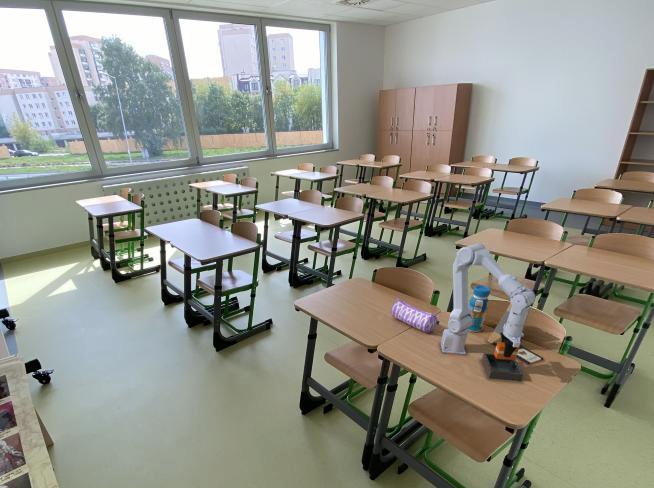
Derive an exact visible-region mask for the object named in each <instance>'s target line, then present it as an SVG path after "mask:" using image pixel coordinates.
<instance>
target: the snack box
mask: <svg viewBox="0 0 654 488" xmlns="http://www.w3.org/2000/svg"><path fill="white" fill-rule="evenodd" d="M504 349H505V344H504V343H503V342H498V343H497V346H496V345H495V350H494V353H493V354H494V355H495V357H496V359H507V360H516V359H517V358H516V356H517V353H518V350H519V347H518V348H517V349H515V351H514V352H513V353H512V355H511V356H510V357H504Z"/></svg>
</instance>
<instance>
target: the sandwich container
mask: <svg viewBox="0 0 654 488" xmlns="http://www.w3.org/2000/svg"><path fill="white" fill-rule="evenodd" d="M511 307H512V305H511V302H510V303H509V305H508V306H507V309H506V310H505V312H504V313H503V315H502V317H501V318H500V320H499V322H498V323H497V325H496V326H495V328H494V330H493V331H492V333H491V334H490V336H489V338H488V339H487V341H486V343H490V344H492V345H493V343H494V342H495V343H498V342H501V335H500V333H501V332H503V331H504V329H503V327H504V324H506V323H507V320H508V317H509V313H510V310H511ZM530 310H531V307H530V308H529V311H528V314H527V317H526V320H525V323H524V326H523V329H522V333H524V332H523V331H524V329H525V326H526V323H527V320H528V317H529V314H530Z"/></svg>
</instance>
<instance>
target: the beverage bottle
mask: <svg viewBox="0 0 654 488" xmlns="http://www.w3.org/2000/svg"><path fill="white" fill-rule="evenodd" d="M490 294H491V288H490V287H488V286H486V285H476V286H475V287H474V288H473V292H472V296H471V297H470V298H469V300H468V308H469V309H470V310H471V314H472V317H473V320H474V323H473V325H472V326H471V327H469V330H468V332H472V333H478V332H481V331H482V329H483V325H484V323H485V319H486V314H487V312H488V309H489V308H488V306H489V303H490V302H489V299H488V298H489V297H490Z"/></svg>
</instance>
